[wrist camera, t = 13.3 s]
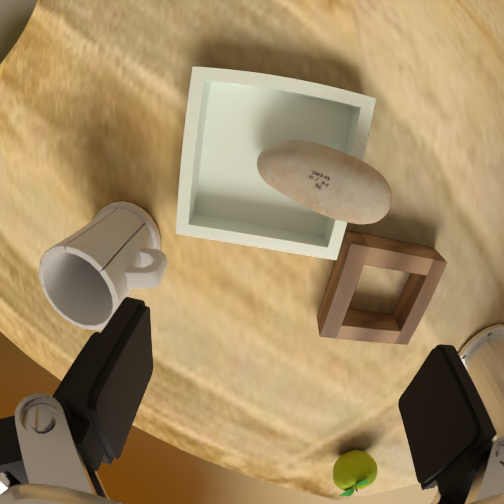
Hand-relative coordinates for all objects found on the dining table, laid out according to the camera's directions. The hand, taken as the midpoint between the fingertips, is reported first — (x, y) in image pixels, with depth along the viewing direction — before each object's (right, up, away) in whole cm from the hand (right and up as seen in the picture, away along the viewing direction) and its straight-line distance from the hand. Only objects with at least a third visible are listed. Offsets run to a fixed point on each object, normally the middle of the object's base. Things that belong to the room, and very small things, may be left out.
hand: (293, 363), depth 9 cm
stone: (+1, +12, +20) cm, 24 cm away
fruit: (+20, -39, +45) cm, 64 cm away
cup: (-15, +6, +26) cm, 30 cm away
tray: (+1, +13, +21) cm, 24 cm away
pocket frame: (+14, 0, +26) cm, 30 cm away
